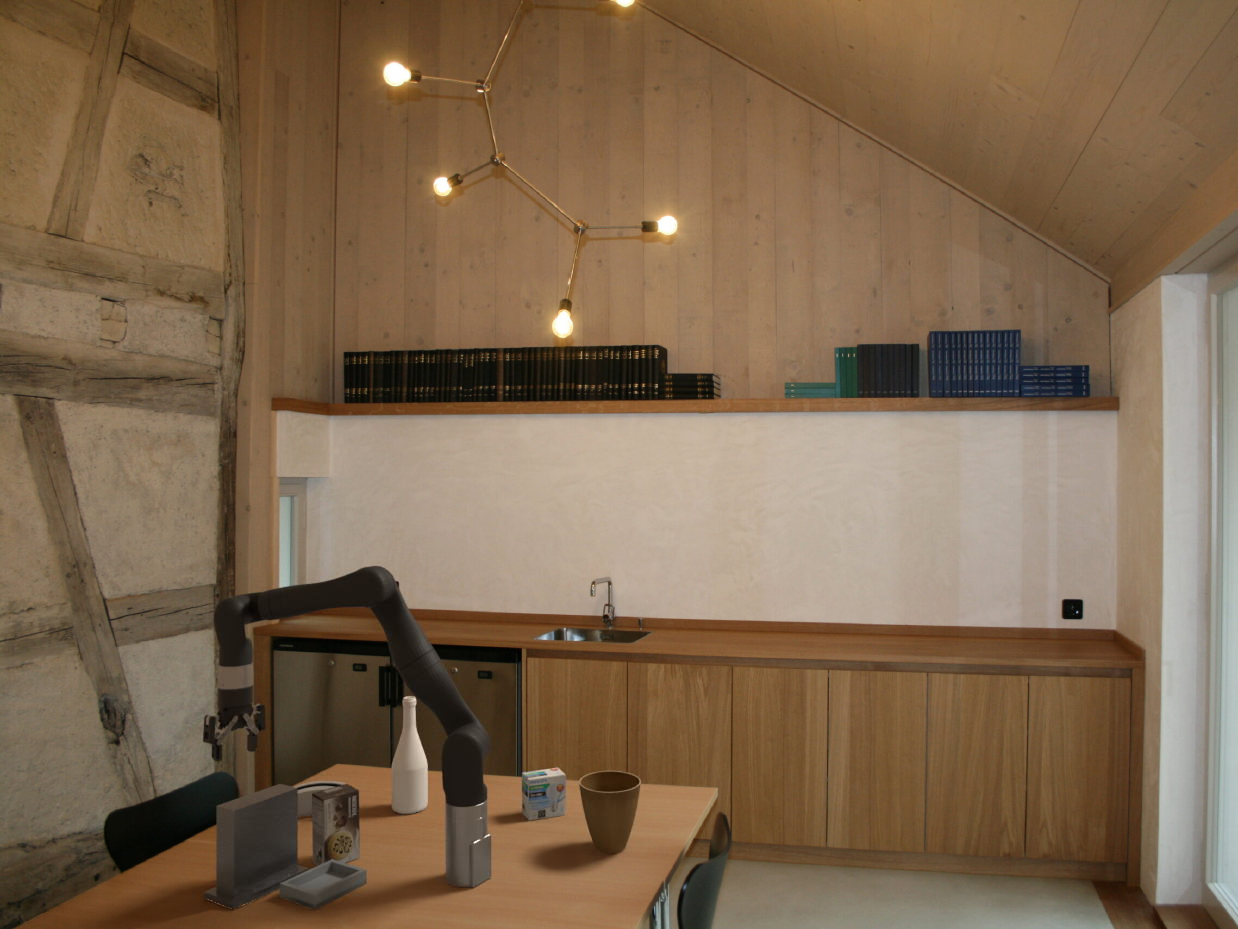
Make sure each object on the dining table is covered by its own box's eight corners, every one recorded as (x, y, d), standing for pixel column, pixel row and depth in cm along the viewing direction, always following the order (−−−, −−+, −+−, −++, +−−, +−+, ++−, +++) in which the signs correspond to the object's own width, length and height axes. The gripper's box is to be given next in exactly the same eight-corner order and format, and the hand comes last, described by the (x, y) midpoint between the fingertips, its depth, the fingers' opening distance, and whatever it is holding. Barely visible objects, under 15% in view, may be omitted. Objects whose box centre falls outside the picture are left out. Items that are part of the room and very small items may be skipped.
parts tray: (366, 883, 192) (366, 869, 192) (314, 910, 180) (314, 895, 181) (332, 872, 198) (332, 859, 198) (279, 897, 186) (279, 883, 186)
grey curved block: (351, 805, 240) (350, 774, 237) (350, 817, 236) (349, 786, 233) (286, 811, 236) (284, 780, 233) (284, 823, 232) (283, 792, 229)
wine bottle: (411, 800, 244) (411, 691, 245) (435, 807, 239) (434, 696, 240) (384, 810, 237) (384, 698, 237) (407, 817, 231) (407, 703, 232)
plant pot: (566, 848, 210) (566, 781, 210) (609, 830, 221) (608, 766, 221) (611, 866, 200) (611, 795, 200) (654, 846, 211) (653, 779, 211)
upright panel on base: (309, 875, 197) (309, 787, 197) (233, 910, 181) (233, 814, 181) (280, 865, 202) (280, 780, 203) (204, 899, 186) (204, 806, 186)
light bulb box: (528, 821, 228) (528, 779, 228) (520, 812, 234) (520, 772, 234) (567, 815, 232) (566, 773, 232) (558, 806, 238) (558, 766, 238)
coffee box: (347, 850, 210) (347, 782, 211) (360, 858, 206) (360, 789, 206) (311, 862, 204) (311, 792, 204) (323, 870, 199) (323, 799, 200)
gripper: (217, 692, 191) (216, 767, 191) (273, 680, 203) (272, 750, 203) (196, 688, 195) (195, 761, 195) (252, 676, 207) (252, 745, 207)
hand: (234, 755), depth 199 cm, fingers open, 8 cm apart
